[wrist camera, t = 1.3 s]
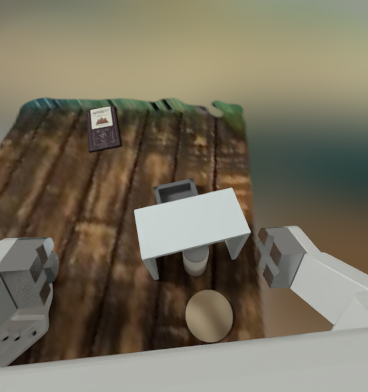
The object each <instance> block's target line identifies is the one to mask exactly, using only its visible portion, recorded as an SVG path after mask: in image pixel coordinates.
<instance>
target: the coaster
mask: <svg viewBox="0 0 368 392" xmlns="http://www.w3.org/2000/svg"><path fill="white" fill-rule="evenodd" d="M186 322H187V325H188V328H189V330H190V331H191V333H192V334H193V335H194V336H195V337H196V338H198V339H200V340H201V341H204V342H216V341H219V340H221V339H223V338H224V337H225V336H226V335H227V334H228V332H229V331H230V329H231V326H232V322H233V313H232V309H231V306H230V304H229V302H228V301H227V299H226V298H225V297H224V296H223V295H222V294H220V293H218V292H216V291H213V290H203V291H200V292H198V293H196V294H195V295H194V296H193V297H192V298H191V299H190V300H189V302H188V305H187V308H186Z"/></svg>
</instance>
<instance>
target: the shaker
mask: <svg viewBox="0 0 368 392" xmlns="http://www.w3.org/2000/svg"><path fill="white" fill-rule="evenodd" d="M182 252H183V263H184V269H185V271H186V272H187V273H188V274H189V275H191V276H199V275H201V274H202V273H203V272H204V271H205V269H206V264H207V260H208V255H209V248H208V245H205V246H201V247H197V248H193V249H189V250H185V251H182Z"/></svg>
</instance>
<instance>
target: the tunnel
mask: <svg viewBox="0 0 368 392" xmlns="http://www.w3.org/2000/svg"><path fill="white" fill-rule="evenodd" d="M134 212H135V219H136V225H137V231H138V237H139V244H140V250H141V256H142V260H143V262H144V264H145V265H146V267H147V269H148V270H149V272H150V274H151V275H152V277H153V279H154V280H157V279H159V275H158V270H157V265H156V259H155V258H157V257H161V256H165V255H169V254H173V253H177V252H181V251H185V250H189V249H193V248H197V247H201V246H205V245H209V244H213V243H217V242H221V241H225V242H226V245H227V248H228V251H229V254H230V256H231V259H232V260H233V259H236V258H237V256H238V255H239V253H240V251H241V249H242V247H243V246H244V244H245V242H246V240H247V238H248V237H249V235H250V233H251V231H250V229H249V227H248V224H247V222H246V220H245V217H244V215H243V213H242V210H241V208H240V206H239V203H238V201H237V199H236V196H235V194H234V192H233V189H232V188H229V189H224V190H220V191H216V192H211V193H207V194H202V195H198V196H194V197H189V198H185V199H180V200H176V201H172V202H167V203H163V204H158V205H154V206H150V207H145V208H141V209H137V210H134Z"/></svg>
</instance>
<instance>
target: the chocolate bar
mask: <svg viewBox="0 0 368 392" xmlns="http://www.w3.org/2000/svg"><path fill="white" fill-rule="evenodd" d="M86 112H87V128H88V144H89V152H95V151H100V150H105V149H110V148H115V147H120V146H121V145H120V138H119V132H118V126H117V119H116V113H115V107H114V106H111V107H105V108H100V109H95V110H89V111H86Z"/></svg>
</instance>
